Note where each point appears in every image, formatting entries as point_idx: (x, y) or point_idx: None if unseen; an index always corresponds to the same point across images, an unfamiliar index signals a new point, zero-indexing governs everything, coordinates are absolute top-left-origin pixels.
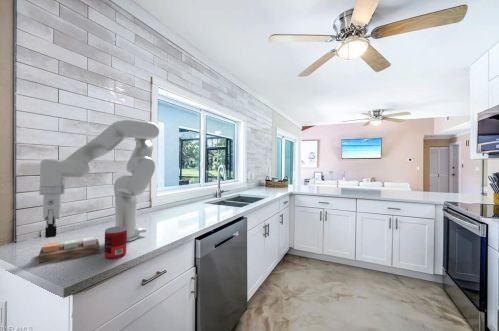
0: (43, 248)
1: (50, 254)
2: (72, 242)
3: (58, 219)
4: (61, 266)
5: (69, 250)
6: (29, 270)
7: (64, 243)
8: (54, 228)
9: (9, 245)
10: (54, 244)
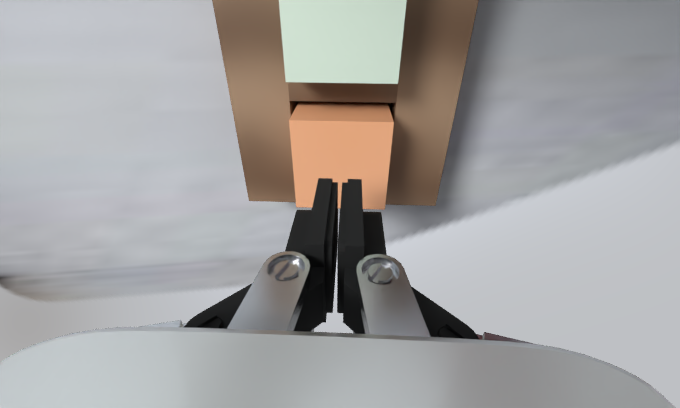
0: (383, 203)
1: (446, 151)
2: (382, 5)
3: (617, 368)
4: (573, 72)
5: (459, 30)
6: (488, 204)
7: (372, 80)
8: (364, 245)
9: (52, 290)
10: (351, 150)
